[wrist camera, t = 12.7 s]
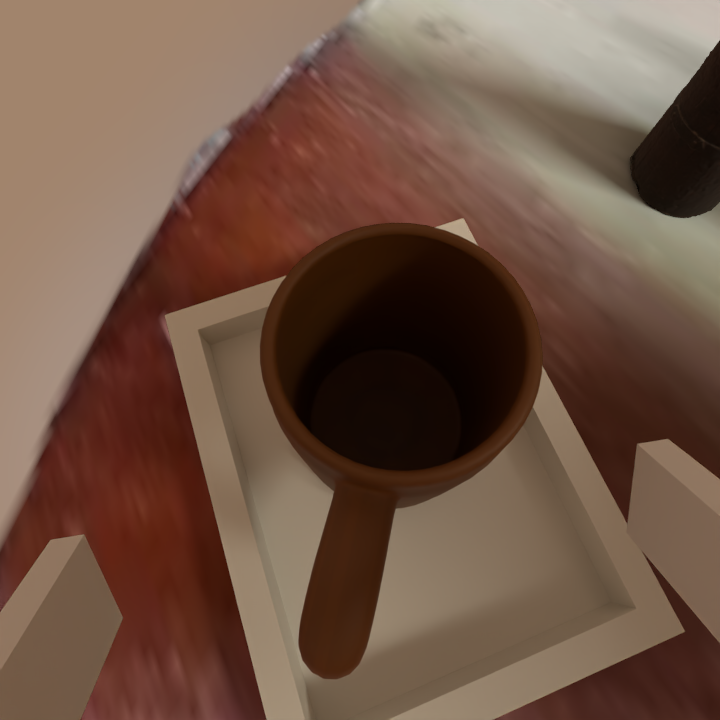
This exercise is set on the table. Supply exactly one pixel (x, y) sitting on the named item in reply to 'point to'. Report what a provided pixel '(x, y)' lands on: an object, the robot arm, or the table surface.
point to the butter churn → (684, 149)
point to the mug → (390, 398)
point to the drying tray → (417, 552)
